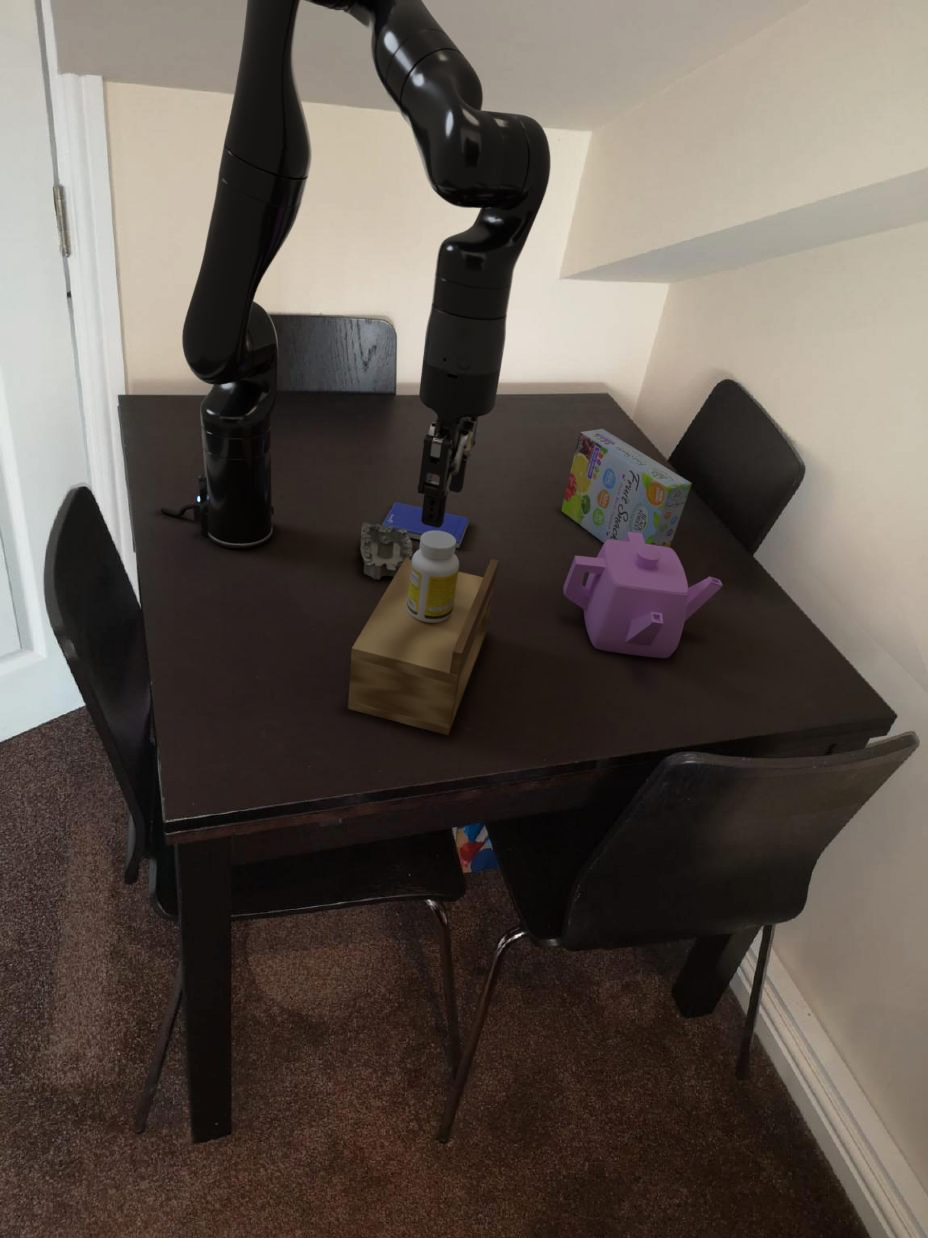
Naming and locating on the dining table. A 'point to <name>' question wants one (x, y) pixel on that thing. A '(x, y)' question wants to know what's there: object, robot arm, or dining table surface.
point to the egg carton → (384, 549)
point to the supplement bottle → (433, 578)
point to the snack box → (622, 491)
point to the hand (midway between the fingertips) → (442, 506)
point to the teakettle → (635, 597)
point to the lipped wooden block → (420, 654)
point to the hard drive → (415, 528)
